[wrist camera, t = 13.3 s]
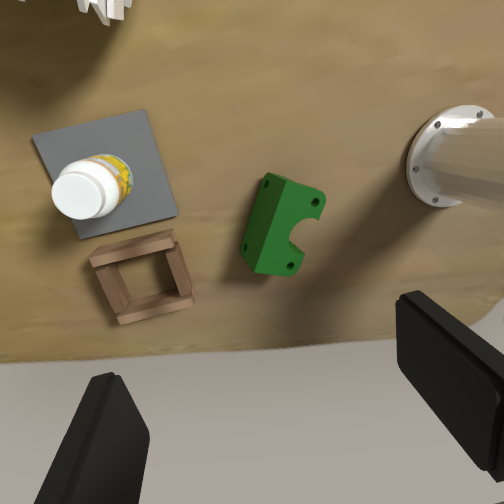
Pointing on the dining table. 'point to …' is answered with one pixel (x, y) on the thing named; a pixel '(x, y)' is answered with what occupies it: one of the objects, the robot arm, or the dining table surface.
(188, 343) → the dining table surface
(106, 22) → the white origami shape
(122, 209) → the rubber mat
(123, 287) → the frame
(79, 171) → the supplement bottle
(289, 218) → the clamp
